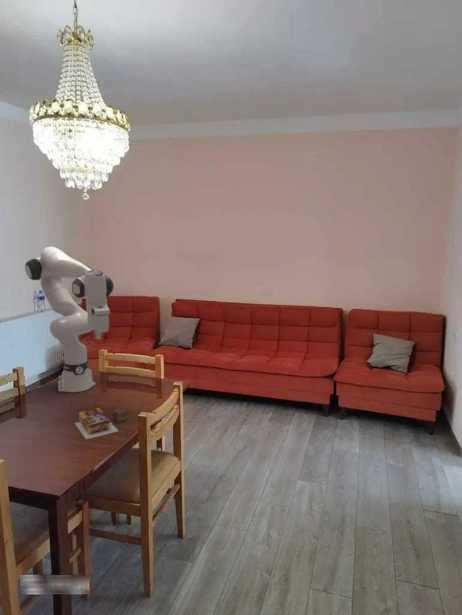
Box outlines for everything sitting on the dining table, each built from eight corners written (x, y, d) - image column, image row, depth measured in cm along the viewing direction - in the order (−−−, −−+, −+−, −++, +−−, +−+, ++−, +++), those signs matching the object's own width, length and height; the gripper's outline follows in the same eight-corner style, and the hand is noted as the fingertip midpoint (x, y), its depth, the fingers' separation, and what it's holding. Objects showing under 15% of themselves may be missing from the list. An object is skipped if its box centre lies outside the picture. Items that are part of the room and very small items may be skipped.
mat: (74, 424, 182) (74, 423, 182) (105, 417, 189) (105, 416, 189) (86, 439, 168) (86, 438, 168) (118, 431, 175) (118, 430, 175)
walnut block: (113, 419, 187) (112, 411, 186) (121, 417, 190) (120, 408, 189) (118, 422, 184) (118, 413, 184) (126, 419, 187) (126, 410, 186)
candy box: (79, 421, 184) (88, 434, 172) (78, 411, 184) (87, 424, 171) (99, 416, 189) (110, 429, 176) (99, 407, 188) (109, 419, 176)
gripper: (83, 305, 195) (84, 334, 197) (96, 312, 178) (97, 344, 180) (97, 303, 198) (98, 333, 200) (111, 310, 181) (112, 342, 183)
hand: (98, 338), depth 190 cm, fingers closed
